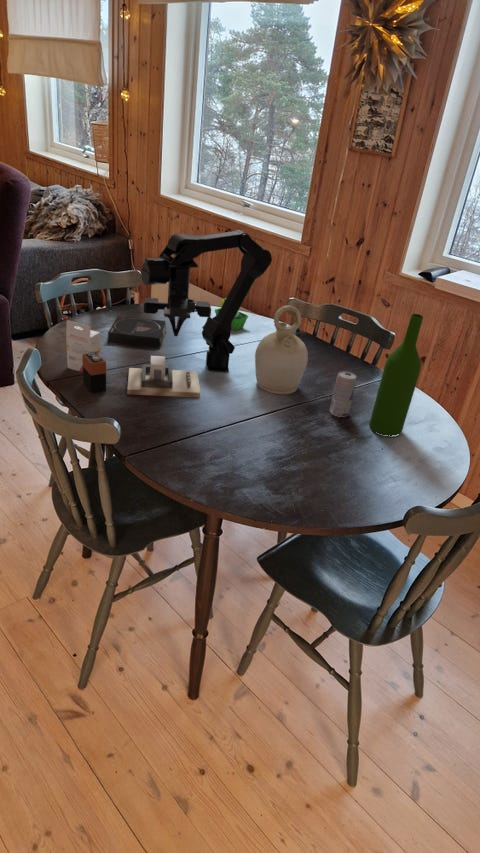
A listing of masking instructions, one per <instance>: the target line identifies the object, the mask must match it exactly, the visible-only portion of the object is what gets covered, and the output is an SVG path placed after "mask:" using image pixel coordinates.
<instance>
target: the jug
mask: <svg viewBox="0 0 480 853" xmlns="http://www.w3.org/2000/svg"><path fill="white" fill-rule="evenodd" d="M286 312H292V313H293V314H294V316H295V322H294V323H293V324H292V325H290V326H288V323H287V322H284V321H282V322H280V318H281V316H282V315H283V314H284V313H286ZM301 315H302V314H301V313H300V311H299V309H298V308H296V307H295V306H294V305H290V304H287V305H283V306H281V307H280V308H278V309H277V311H276V312H275V314H274V317H273V323H274V324H273V325H274V327H275V329H276V330H275V331H274V332H272V333H269V334H267V335H265V336H264V337H263V338H262V339H260V341H259V343H258V345H257V346H256V349H255V352H254V354H255V355H254V364H255V378H256V383H257V386H258V387H259V388H260V389H261V390H263V391H265V392H267V393H270V394H274V395H282V396H283V395H289V394H294V393H295V392H296V391H297V390H298V386H299V385H300V383H301V381H302V378H303V376H304V373H305V370H306V369H307V365H308V360H309V359H308V357H309V356H308V349H307V346H306V345H305V343H304V342H303V341H302V339H301V338H299V337H298V336H297V335H296V334H294V332H295V331H297V329H299V327H300V325H301V322H302V316H301Z"/></svg>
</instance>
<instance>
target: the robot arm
mask: <svg viewBox="0 0 480 853" xmlns="http://www.w3.org/2000/svg"><path fill="white" fill-rule="evenodd" d="M234 248H235V249H238V250H239V251H240V252H241V253H242V254H243V255H242V257H241V260H240V272H239V273H238V275H237V278H236V279H235V281H234V283H233V284H232V287H231V288H230V291H229V293H228V294H227V296H226V297H225V298H226V300H225V302H224V304H223V305H222V304H221V305H222V307H221V306H220V308H221V309H220V311H219V313H218V314H217V315H216V314H215V316H214V317H211V316H212V308H211V304H210V302H209V301H203V300H202V301H199V300H198V301H197V300H196V299H194V298H193V299H192V298H189V295H190V294H189V292H190V281H191V280H190V279H191V268H198V267H199V265H198V263H196V261H194V259H196V258H198V257H199V256H201V255H202V254H205V253H210V252H217V251H222V250H229V249H234ZM173 256H174V257H173ZM272 261H273V258H272V254H271V252H270V251H269V250H268V249H266V248H263V247H262V246H261V245H259V244H258V242H256V241H255V240H254V239H253V238H251V236H250V234H248V233H247V232H245V231H242V230H240V229H235V230H233V231H228V232H227V231H226V232H220V233H213V234H205V235H192V234H187V233H174V234H172V235H171V236H170V238H169V239H168V241H167V244H166V246H165V247H164V248H163V249H162V251H161V253H160V254H159V256H158V258H151V257H146V258H144V263H142V265H141V268H140V276H141V280H142V282H143V284H144V285H146V286H147V285H148V286H150V285H151V286H152V285H166V284H167V283H168V288H167V302H159V298H158V297H157V298H156V297H145V298H144V299H143V313H144V314H153V315H154V314H155V315H156V314H157V313H158V312H159V310H163V315H164V318H168V320H169V322H170V325H171V330H172V334H173V335H174V337H178V335H179V333H180V331H181V328H182V325H183V324H184V322H185V321H186V320H187V319H190V318H191V314H192V313H196V312H197V313H196V315H198V317H200V318H206V321H205V323H204V325H203V326H202V327H201V328H202V331H201V336H202V339H203V340H204V341H205V343H206V345H207V346H208V350H207V351H206V354H205V355H206V357H205V365H206V366H205V367H207V370H208V371H209V372H229V371H230V369H229V363H230V362H229V361H230V355H231V354H233V352H234V350H235V348H236V346H234V344H233V343H232V342H231V341H230V337H231V335H232V330H231V327H232V321H233V319H234V318H235V316H236V314H237V312H238V311H239V310H240V308H241V306H242V305H243V303H244V300H245V299H246V297H247V295H248V293H249V291H250V289H251V288H252V286H253V284H254V282H255V281H256V280H257V279H259V277H261V276H262V275H264V273H265V272H266V271H267V270H268V268H269V267H270V265H271V264H272ZM176 318H177V321H176Z"/></svg>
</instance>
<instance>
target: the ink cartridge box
mask: <svg viewBox="0 0 480 853" xmlns="http://www.w3.org/2000/svg"><path fill="white" fill-rule="evenodd" d="M91 328H92V327H91V325H87V324H83V323H80V322H76V321H72V320H69V319H67V320H66V331H65V339H66V358H67V359H66V361H67V362H66V363H67V365H66V366H67V368H68V369H70V370H73V371H76V372H77V371H78V372H80V373H83V359H82V355H83V354H88V353H89V352H90V351H93V352H95V353H98V354H99V355H100V356H101V332H100V331H96V330H92V329H91Z"/></svg>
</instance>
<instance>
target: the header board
mask: <svg viewBox="0 0 480 853" xmlns="http://www.w3.org/2000/svg"><path fill="white" fill-rule="evenodd" d="M141 365H142V366H141V367H139V368H137V367H129V368H128V380H127V388H126V389H127V391H126V392H127V393H126V394H127V395H137V396H138V395H139V396H140V395H141V396H159V397H160V396H161V397H180V398H181V397H182V398H183V397H185V398H201V386H200V383H199V382H200V381H199V376H198V371H197V370H196V371H195V370H178V369H173V366H171V365H165V380H151V379H150V366H151V364H141Z"/></svg>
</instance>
